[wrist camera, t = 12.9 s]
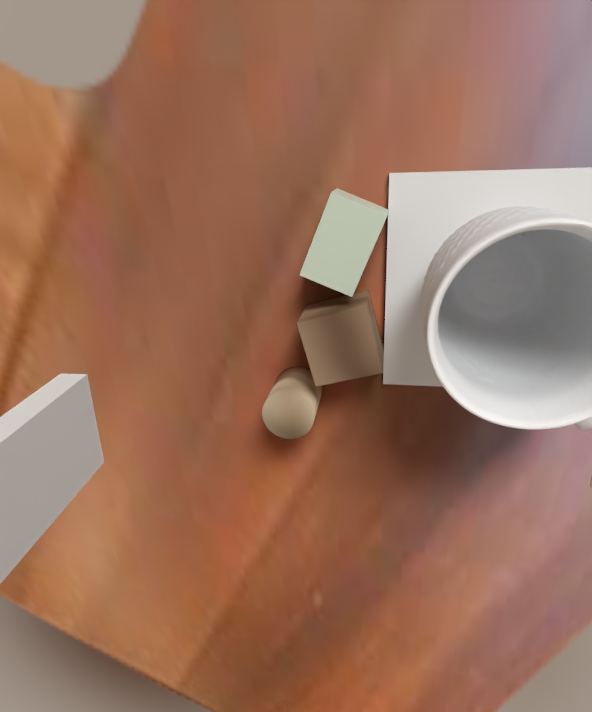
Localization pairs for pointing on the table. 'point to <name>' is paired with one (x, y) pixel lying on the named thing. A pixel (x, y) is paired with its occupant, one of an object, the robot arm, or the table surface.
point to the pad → (434, 225)
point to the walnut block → (341, 338)
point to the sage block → (343, 241)
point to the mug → (514, 317)
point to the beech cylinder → (292, 403)
